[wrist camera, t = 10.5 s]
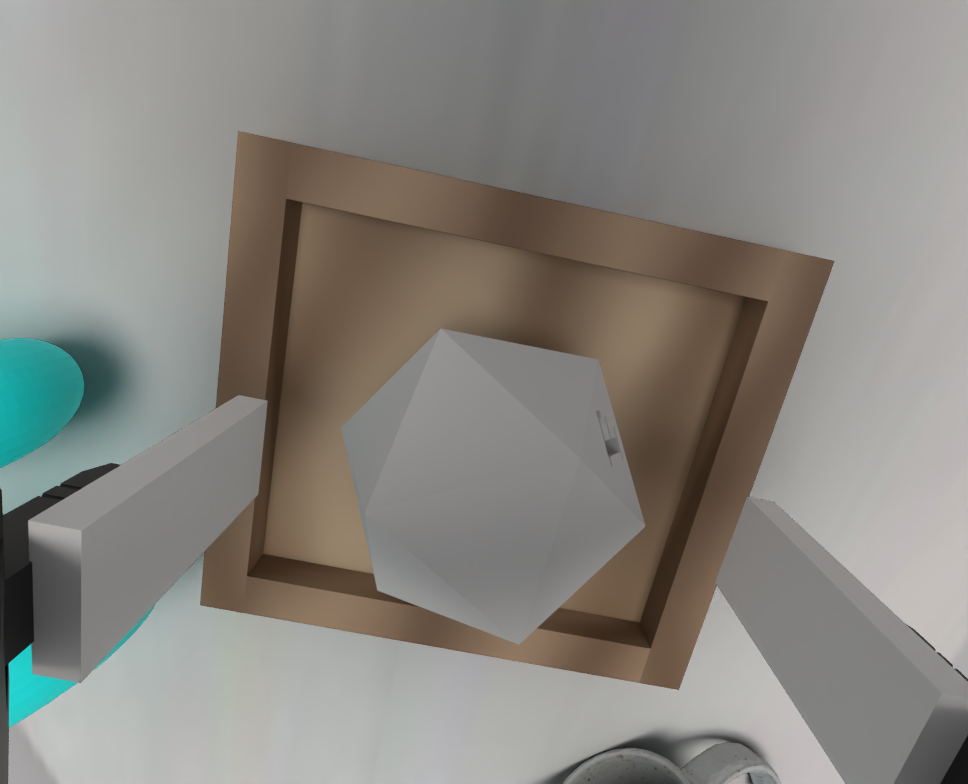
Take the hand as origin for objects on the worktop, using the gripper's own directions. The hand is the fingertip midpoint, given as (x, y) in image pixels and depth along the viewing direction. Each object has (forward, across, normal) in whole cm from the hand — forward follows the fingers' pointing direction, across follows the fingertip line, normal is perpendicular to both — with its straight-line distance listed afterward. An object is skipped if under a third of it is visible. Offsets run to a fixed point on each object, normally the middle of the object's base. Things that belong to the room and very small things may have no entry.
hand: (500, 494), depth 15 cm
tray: (+6, 0, 0) cm, 6 cm away
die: (+6, 0, 0) cm, 6 cm away
